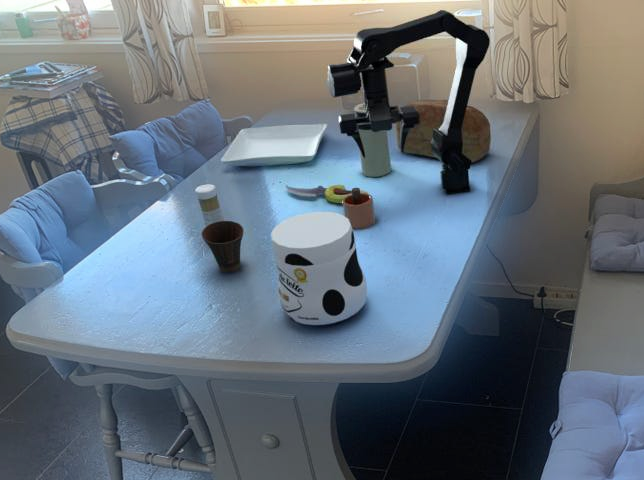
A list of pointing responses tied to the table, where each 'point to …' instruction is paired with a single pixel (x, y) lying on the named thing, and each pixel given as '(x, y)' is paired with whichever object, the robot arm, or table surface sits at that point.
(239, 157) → the square plate
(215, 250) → the cup
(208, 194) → the sprinkles bottle
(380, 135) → the travel mug
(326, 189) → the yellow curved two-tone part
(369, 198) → the terracotta cup
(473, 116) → the bread
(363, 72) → the robot arm
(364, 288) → the milk container
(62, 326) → the table surface
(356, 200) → the walnut stick
